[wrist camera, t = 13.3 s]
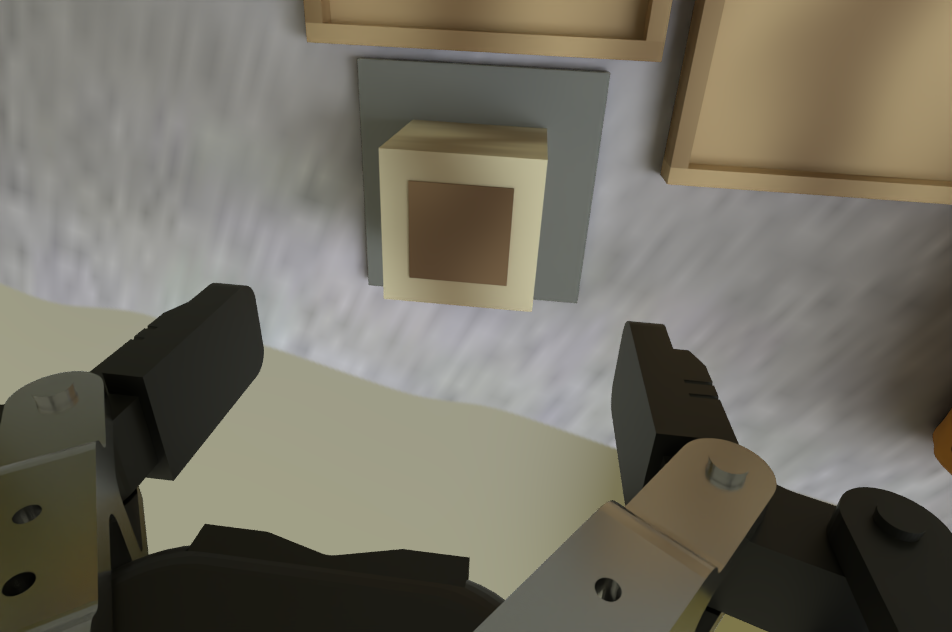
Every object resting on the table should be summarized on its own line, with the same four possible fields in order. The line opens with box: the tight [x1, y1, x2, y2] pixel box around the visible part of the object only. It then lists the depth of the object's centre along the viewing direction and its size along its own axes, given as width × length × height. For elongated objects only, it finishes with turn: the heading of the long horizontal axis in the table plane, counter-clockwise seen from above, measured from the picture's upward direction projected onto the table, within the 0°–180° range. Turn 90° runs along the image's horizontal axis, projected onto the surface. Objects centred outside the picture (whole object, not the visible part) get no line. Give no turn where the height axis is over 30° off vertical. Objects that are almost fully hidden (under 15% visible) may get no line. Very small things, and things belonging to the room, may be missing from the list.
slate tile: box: [357, 58, 610, 303], centre depth 22 cm, size 9×9×1 cm
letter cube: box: [379, 120, 548, 312], centre depth 20 cm, size 5×5×5 cm
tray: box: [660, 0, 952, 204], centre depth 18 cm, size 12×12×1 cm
